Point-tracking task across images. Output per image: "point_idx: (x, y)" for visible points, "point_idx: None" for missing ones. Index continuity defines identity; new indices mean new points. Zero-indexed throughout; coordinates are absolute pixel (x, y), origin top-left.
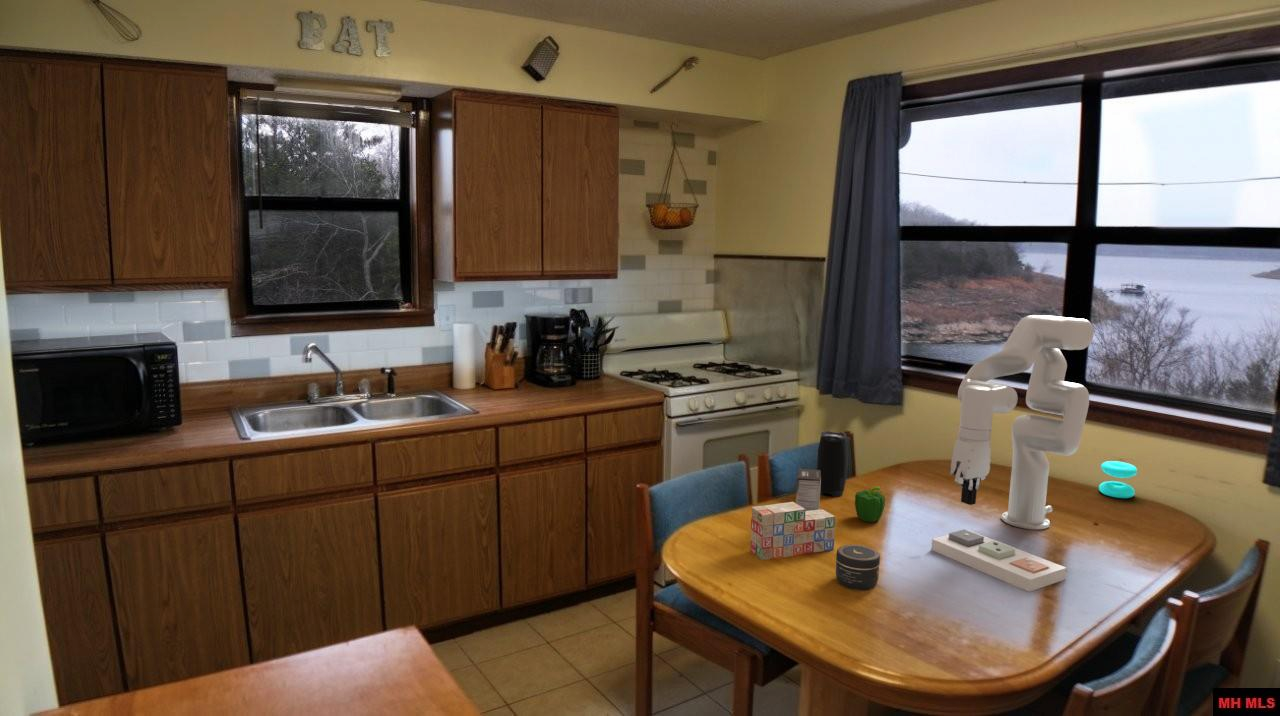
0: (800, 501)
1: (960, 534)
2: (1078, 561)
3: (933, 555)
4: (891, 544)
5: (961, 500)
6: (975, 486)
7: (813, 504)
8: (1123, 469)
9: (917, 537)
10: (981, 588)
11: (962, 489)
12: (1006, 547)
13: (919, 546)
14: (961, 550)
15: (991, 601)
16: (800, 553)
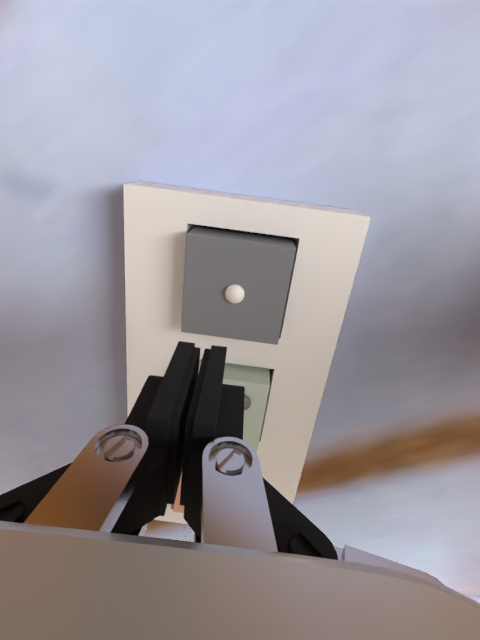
0: None
1: (220, 273)
2: (437, 490)
3: (104, 220)
4: (24, 17)
5: (178, 346)
6: (195, 539)
7: None
8: None
9: (208, 38)
10: (48, 423)
11: (154, 404)
12: (244, 433)
13: (126, 124)
14: (130, 325)
15: (15, 462)
16: None
